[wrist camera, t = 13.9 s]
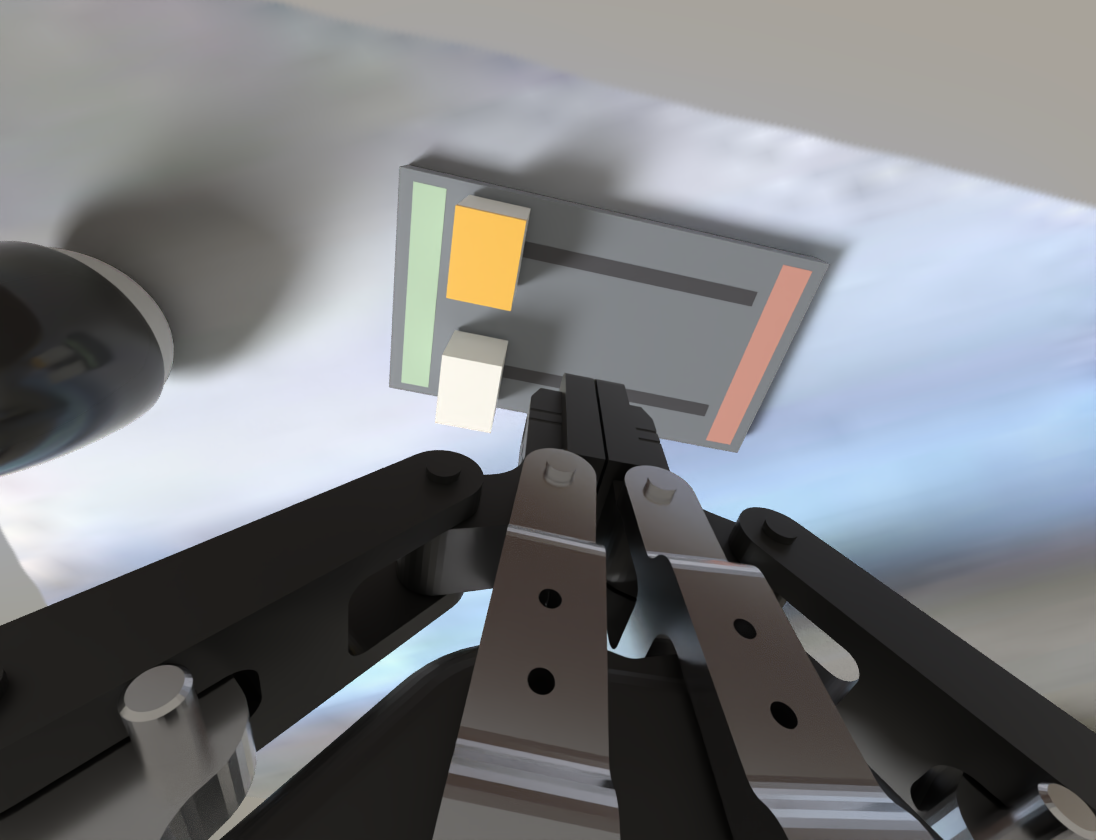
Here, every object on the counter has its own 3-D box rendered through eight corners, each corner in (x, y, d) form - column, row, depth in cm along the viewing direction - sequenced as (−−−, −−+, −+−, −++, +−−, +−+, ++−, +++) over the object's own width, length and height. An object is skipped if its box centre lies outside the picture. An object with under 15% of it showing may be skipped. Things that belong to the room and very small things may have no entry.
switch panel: (816, 258, 27) (829, 264, 25) (730, 440, 33) (737, 453, 31) (407, 164, 25) (399, 166, 23) (396, 376, 31) (389, 387, 29)
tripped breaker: (530, 208, 24) (526, 221, 21) (516, 288, 26) (510, 311, 23) (469, 194, 24) (455, 205, 21) (460, 276, 26) (445, 297, 23)
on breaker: (508, 340, 28) (502, 366, 25) (497, 402, 30) (490, 433, 27) (454, 329, 27) (442, 354, 24) (447, 392, 29) (435, 422, 26)
